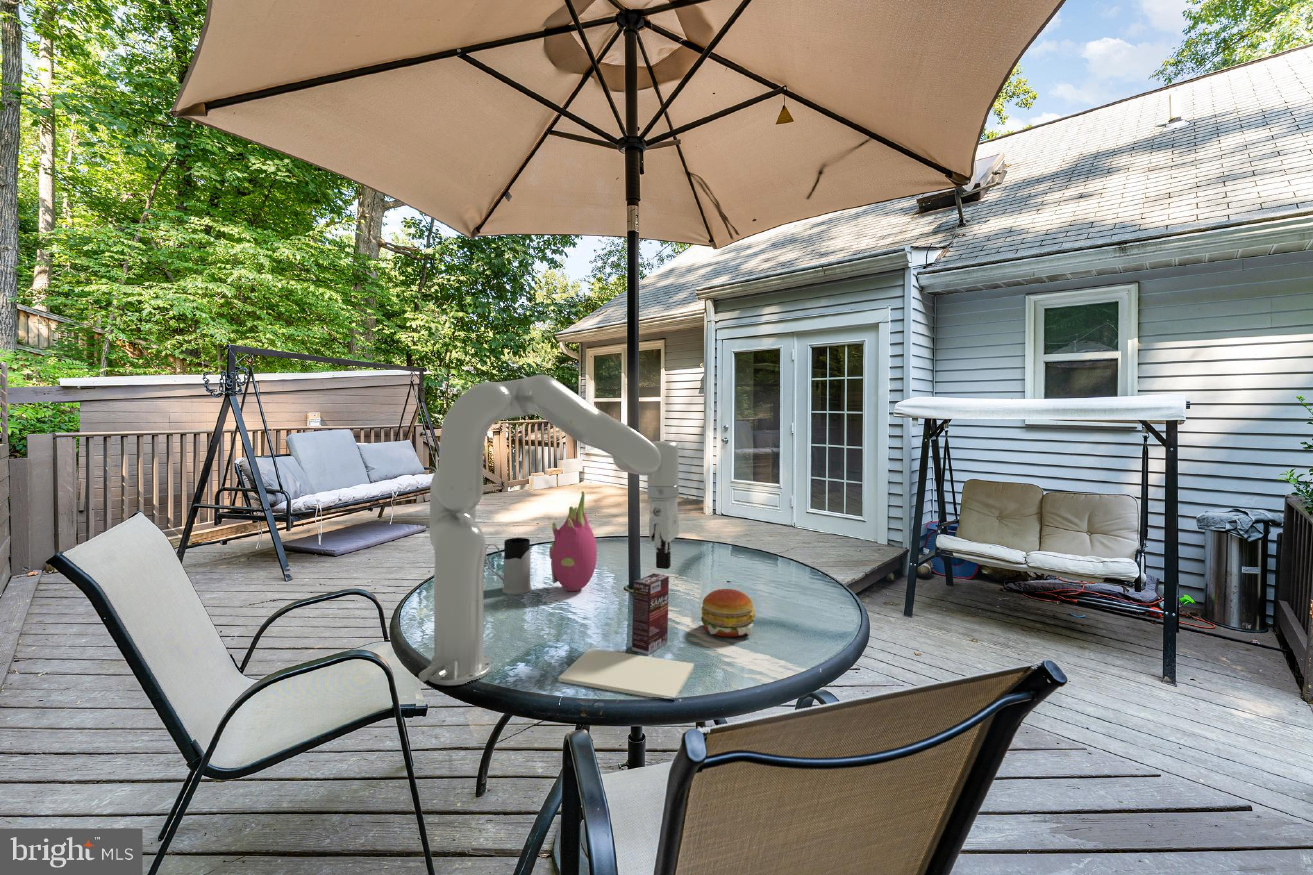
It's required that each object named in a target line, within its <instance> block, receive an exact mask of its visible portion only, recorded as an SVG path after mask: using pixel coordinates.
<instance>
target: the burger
mask: <svg viewBox="0 0 1313 875" xmlns="http://www.w3.org/2000/svg"><path fill="white" fill-rule="evenodd" d="M753 603H754V602H753V601H752V600H751V598H750V596H748V595H747V594H746V593H744V592H741V591H740V590H738V589H737V590H736V589H733V588H720V589H716V590H713V591H711V592H709V593H707V595H706V596H705V597H704V598H703V600H702V606H701V617H700V619H701V622H702V624H703V627H704V629H705V630H706V631H707V632H709V633H710V635H716V636H721V637H731V638H732V637H733V638H734V637H740V636H744V635H748V636H751V635H752V631H753V629H754V628H753V627H754V622H755V621H754V620H755V617H756V612H755V609H754V604H753Z"/></svg>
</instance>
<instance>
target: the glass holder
mask: <svg viewBox="0 0 1313 875" xmlns="http://www.w3.org/2000/svg"><path fill="white" fill-rule="evenodd" d="M503 545H504V546H503V548H504V550H503V551H504V552H503V556H501V554H500V549H499V546H498V545H496V544H495V543H491V544H488V545H486V550H487V549H488V547H490V546H494V547H495V548H496V549H497V554H498V555H497V556H498V558H499V559H502V560H503V577H502V576H501V575H500V574H499V573H498V572H497V571H495V570H494V569H493V567H491V565H490V563H489V561H488V558H487V553H486V554H485V563H486V565H487V567H488V569H490V571H491V572H492V573H493V574H494V575H496V576H497V577H498V578H499V579H500V580H501V581H502V584H503V587H502V588H501V590H502V593H503V594H507V595H520V594H526V593H529V592H530V591H532V588H533V587H532V586H531V539H529V538H527V537H512V538H508V539H505V540H504V543H503Z"/></svg>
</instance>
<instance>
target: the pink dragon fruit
mask: <svg viewBox="0 0 1313 875" xmlns="http://www.w3.org/2000/svg"><path fill="white" fill-rule="evenodd" d="M585 496H586V495H585V492H584V491H583V490H582V491H581V497H580V500H579V503H578V506H577V507H576V506H575V507H573V506H572V505H571V506H569V508H568V515H567V517H566V519H565V521H564V523H563V524H562V525H561V526H560V527H559V528H557V524H556V522H554V521H553V522H552V526H551V529H552V533H553V537H554V541H551V546H549V558H550V566H551V568H550V569H551V578H552V584H556V583H559V584H560V585H561V586H562V588H564V589H565V590H567V591H570V592H577V591H580V590H582V589H583V588H585V587H586V586H587V585H588V584H589V582H590V580H592V577H593V575H594V573H595V570H596V566H597V560H598V559H597V558H598V557H597V556H598V550H597V549H598V548H597V541H596V537H595V533H594V532H593V530H592V528H591V526H590V524H589V519H588V518H587V514H586V509H585V498H586V497H585Z"/></svg>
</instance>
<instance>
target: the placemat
mask: <svg viewBox="0 0 1313 875" xmlns="http://www.w3.org/2000/svg"><path fill="white" fill-rule="evenodd" d="M694 668H695V663H693V662H685V661H680V660H679V661H678V660H672V659H665V658H658V657H652V656H647V655H638V654H632V653H627V652H626V653H625V652H619V651H613V650H606V649H605V650H604V649H598V648H592V647H590V648H588V649H587V650H586V651H585V652H584V653H583V654H582V655H581V656H579V657H578V659H576V660H575V661H574V662H573V663H572V664H571V665H570V666H569V667H568V668H566V670H564V672H562V673H561V674H560V675H559V676H558V677H557V678H558V679H557V680H558V682H561V683H566V684H573V685H578V686H584V687H589V688H596V689H600V690H601V689H602V690H606V691H613V692H619V693H624V694H631V695H636V696H641V697H648V698H652V697H670V698H675V697H676V696H677V695H678V696H679V694H680V693H681V691H682V689H683V688H684V685H685V684H686V682H687V681H688V679H689V677H690V675H691V673H692V672H693V670H694ZM680 690H681V691H680ZM679 692H680V693H679ZM678 696H677V697H678Z"/></svg>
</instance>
